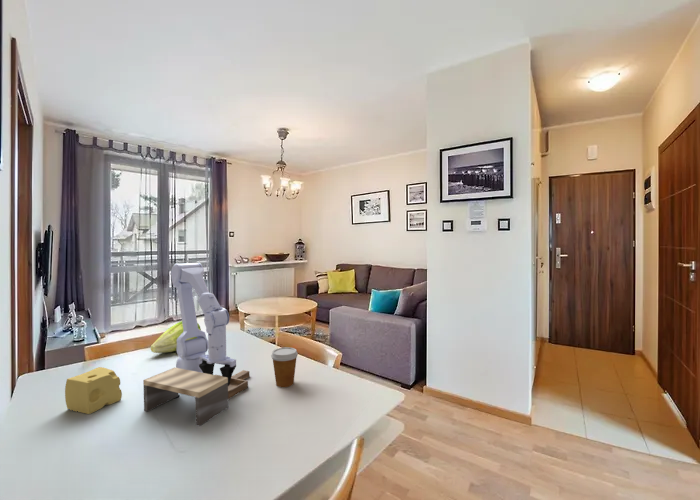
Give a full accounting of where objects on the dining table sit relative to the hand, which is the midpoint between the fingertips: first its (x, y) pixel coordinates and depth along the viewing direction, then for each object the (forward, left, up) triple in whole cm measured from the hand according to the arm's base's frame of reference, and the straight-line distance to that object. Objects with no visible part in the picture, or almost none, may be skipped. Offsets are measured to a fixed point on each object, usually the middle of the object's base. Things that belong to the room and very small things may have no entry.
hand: (217, 384), depth 113 cm
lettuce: (-53, +28, -3) cm, 60 cm away
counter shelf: (0, -12, -3) cm, 13 cm away
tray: (-1, +6, -3) cm, 7 cm away
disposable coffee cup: (+18, +14, -3) cm, 23 cm away
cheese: (-30, -22, -3) cm, 37 cm away
